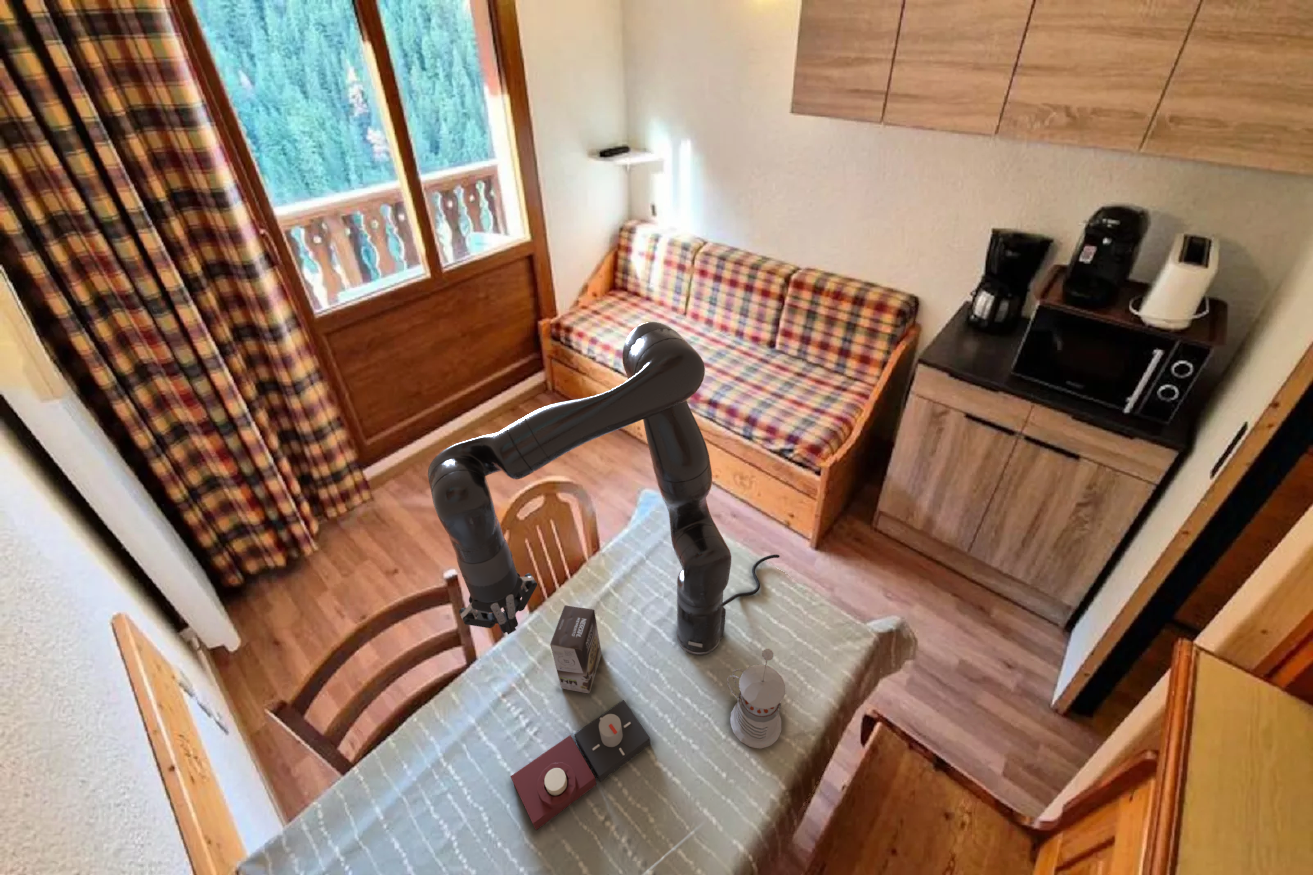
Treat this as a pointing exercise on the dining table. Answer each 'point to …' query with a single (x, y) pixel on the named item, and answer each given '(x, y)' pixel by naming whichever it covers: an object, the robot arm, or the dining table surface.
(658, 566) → the dining table surface
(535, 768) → the red button box
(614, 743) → the timer knob
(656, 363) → the robot arm
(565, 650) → the coffee box
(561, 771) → the button
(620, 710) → the panel
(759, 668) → the french press
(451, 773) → the dining table surface
